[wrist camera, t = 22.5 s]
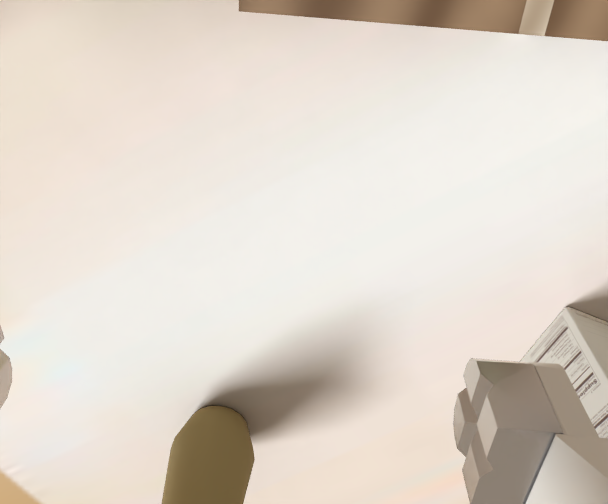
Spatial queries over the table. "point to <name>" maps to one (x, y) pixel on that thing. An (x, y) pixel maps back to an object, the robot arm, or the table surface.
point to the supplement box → (579, 360)
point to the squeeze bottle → (210, 459)
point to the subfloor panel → (458, 14)
